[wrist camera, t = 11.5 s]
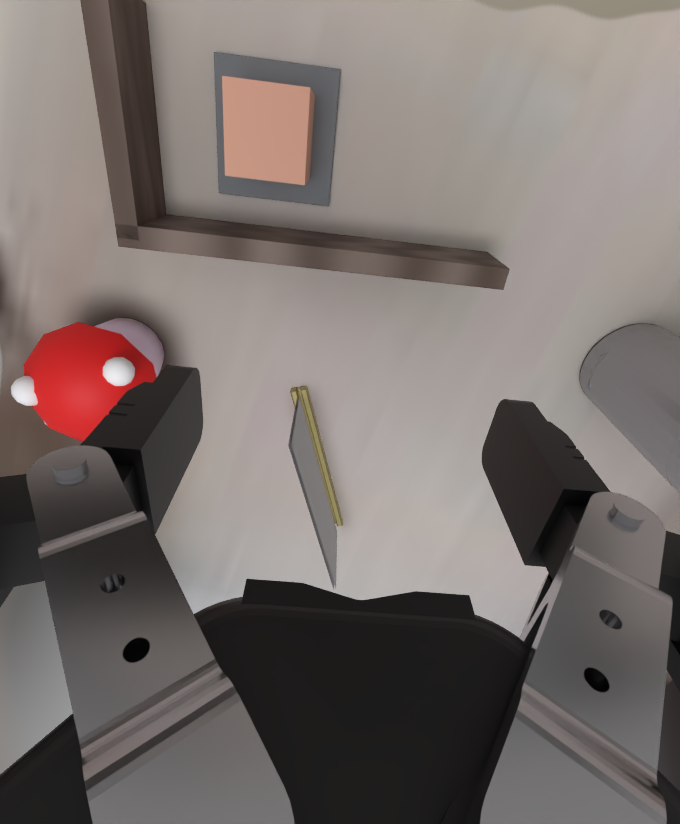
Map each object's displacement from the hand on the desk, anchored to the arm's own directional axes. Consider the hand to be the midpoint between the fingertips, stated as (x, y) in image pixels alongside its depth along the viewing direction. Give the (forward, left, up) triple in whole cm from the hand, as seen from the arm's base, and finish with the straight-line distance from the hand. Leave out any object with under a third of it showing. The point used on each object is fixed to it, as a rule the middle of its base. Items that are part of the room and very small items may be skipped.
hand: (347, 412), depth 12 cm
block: (+6, -6, -30) cm, 31 cm away
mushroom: (+20, +14, -30) cm, 39 cm away
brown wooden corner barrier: (+2, -5, -30) cm, 31 cm away
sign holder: (0, +26, -30) cm, 40 cm away
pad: (+6, -6, -30) cm, 31 cm away
